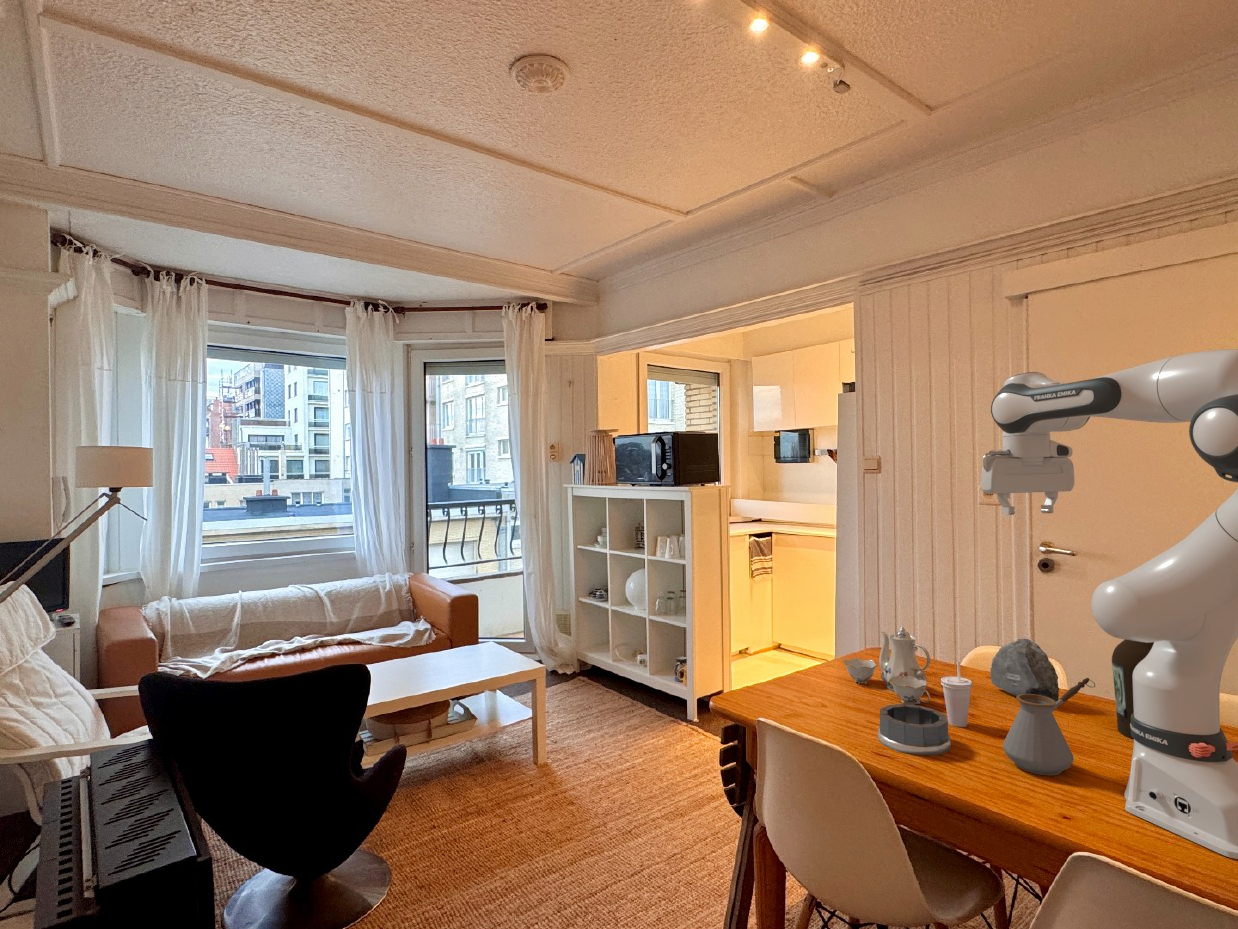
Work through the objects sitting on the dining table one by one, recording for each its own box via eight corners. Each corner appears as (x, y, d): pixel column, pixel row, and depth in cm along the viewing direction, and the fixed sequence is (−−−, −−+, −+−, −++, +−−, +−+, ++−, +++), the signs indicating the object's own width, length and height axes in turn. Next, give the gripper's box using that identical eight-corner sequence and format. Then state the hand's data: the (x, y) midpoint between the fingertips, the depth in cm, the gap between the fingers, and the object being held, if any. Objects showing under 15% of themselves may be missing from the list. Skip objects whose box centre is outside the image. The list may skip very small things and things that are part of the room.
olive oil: (1172, 731, 141) (1168, 614, 142) (1183, 749, 132) (1179, 624, 132) (1110, 722, 147) (1107, 610, 147) (1117, 739, 137) (1113, 619, 138)
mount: (965, 752, 133) (965, 725, 133) (901, 758, 131) (900, 730, 131) (924, 726, 147) (923, 701, 147) (865, 731, 145) (865, 706, 145)
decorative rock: (1063, 708, 156) (1061, 644, 156) (1040, 711, 154) (1038, 646, 155) (1007, 686, 172) (1005, 629, 172) (985, 689, 170) (984, 631, 170)
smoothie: (978, 730, 144) (976, 666, 144) (946, 728, 145) (944, 665, 145) (968, 719, 150) (966, 657, 150) (938, 717, 152) (936, 657, 152)
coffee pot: (1045, 785, 119) (1042, 701, 119) (989, 760, 129) (987, 683, 130) (1123, 764, 126) (1121, 685, 126) (1064, 742, 137) (1062, 669, 137)
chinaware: (833, 685, 181) (826, 626, 180) (877, 670, 188) (871, 613, 187) (918, 719, 155) (910, 650, 155) (966, 700, 162) (959, 634, 162)
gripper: (994, 449, 136) (996, 516, 136) (1079, 448, 140) (1081, 513, 140) (972, 450, 143) (974, 514, 142) (1054, 449, 146) (1056, 511, 146)
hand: (1028, 514), depth 141 cm, fingers open, 8 cm apart
